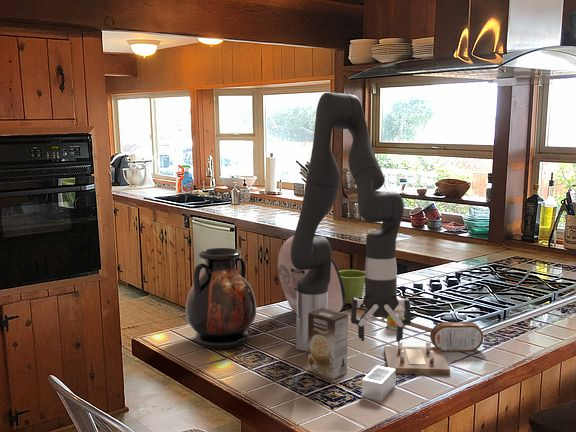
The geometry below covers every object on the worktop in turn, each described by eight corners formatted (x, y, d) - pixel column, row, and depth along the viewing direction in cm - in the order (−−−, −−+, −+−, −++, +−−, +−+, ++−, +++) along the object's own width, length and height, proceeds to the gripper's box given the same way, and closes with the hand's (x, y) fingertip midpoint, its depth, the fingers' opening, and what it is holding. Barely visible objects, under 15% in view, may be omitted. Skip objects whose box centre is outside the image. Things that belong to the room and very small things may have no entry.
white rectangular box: (361, 397, 141) (361, 379, 141) (376, 382, 150) (376, 364, 149) (381, 401, 139) (381, 383, 138) (395, 386, 148) (395, 368, 147)
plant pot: (328, 302, 220) (329, 273, 219) (350, 296, 228) (350, 268, 227) (352, 309, 212) (352, 279, 210) (373, 303, 219) (374, 273, 218)
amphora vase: (227, 325, 196) (225, 242, 192) (271, 340, 180) (270, 251, 176) (172, 341, 181) (169, 251, 177) (215, 359, 165) (212, 262, 162)
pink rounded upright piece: (353, 319, 200) (354, 232, 196) (311, 331, 188) (310, 239, 184) (311, 305, 217) (310, 225, 213) (269, 316, 205) (268, 231, 201)
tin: (480, 348, 172) (481, 320, 171) (484, 352, 169) (485, 324, 168) (429, 349, 172) (430, 321, 171) (432, 353, 169) (433, 324, 168)
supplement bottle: (383, 326, 193) (383, 297, 192) (396, 323, 196) (397, 295, 194) (393, 330, 188) (394, 301, 187) (407, 328, 191) (407, 299, 190)
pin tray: (388, 373, 155) (388, 356, 154) (384, 351, 171) (384, 336, 170) (450, 374, 153) (450, 358, 153) (440, 352, 169) (440, 337, 169)
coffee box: (306, 370, 157) (306, 312, 155) (321, 363, 162) (321, 307, 160) (333, 379, 151) (334, 319, 149) (348, 372, 156) (348, 313, 154)
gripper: (351, 278, 138) (351, 345, 140) (412, 279, 136) (411, 346, 138) (350, 271, 145) (350, 334, 147) (409, 271, 144) (408, 335, 146)
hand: (380, 340), depth 143 cm, fingers open, 8 cm apart
